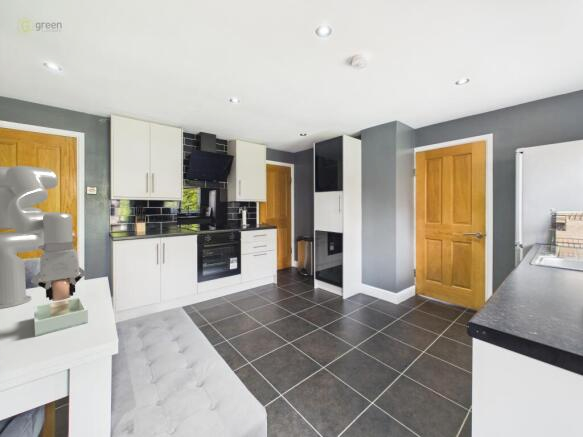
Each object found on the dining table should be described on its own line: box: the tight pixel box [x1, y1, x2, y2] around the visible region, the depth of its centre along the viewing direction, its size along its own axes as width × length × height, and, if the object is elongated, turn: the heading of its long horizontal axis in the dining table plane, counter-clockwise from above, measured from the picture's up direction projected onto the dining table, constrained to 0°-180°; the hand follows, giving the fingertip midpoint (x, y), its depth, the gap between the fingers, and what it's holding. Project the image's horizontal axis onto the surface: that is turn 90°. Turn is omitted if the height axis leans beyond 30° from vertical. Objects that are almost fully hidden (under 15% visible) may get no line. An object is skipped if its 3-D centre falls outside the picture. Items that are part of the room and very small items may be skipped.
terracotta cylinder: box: [50, 278, 72, 302], centre depth 88 cm, size 5×5×7 cm
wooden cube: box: [50, 299, 69, 317], centre depth 94 cm, size 5×5×5 cm
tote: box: [33, 297, 89, 338], centre depth 92 cm, size 18×14×5 cm
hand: (61, 296), depth 88 cm, fingers closed on terracotta cylinder, 4 cm apart
